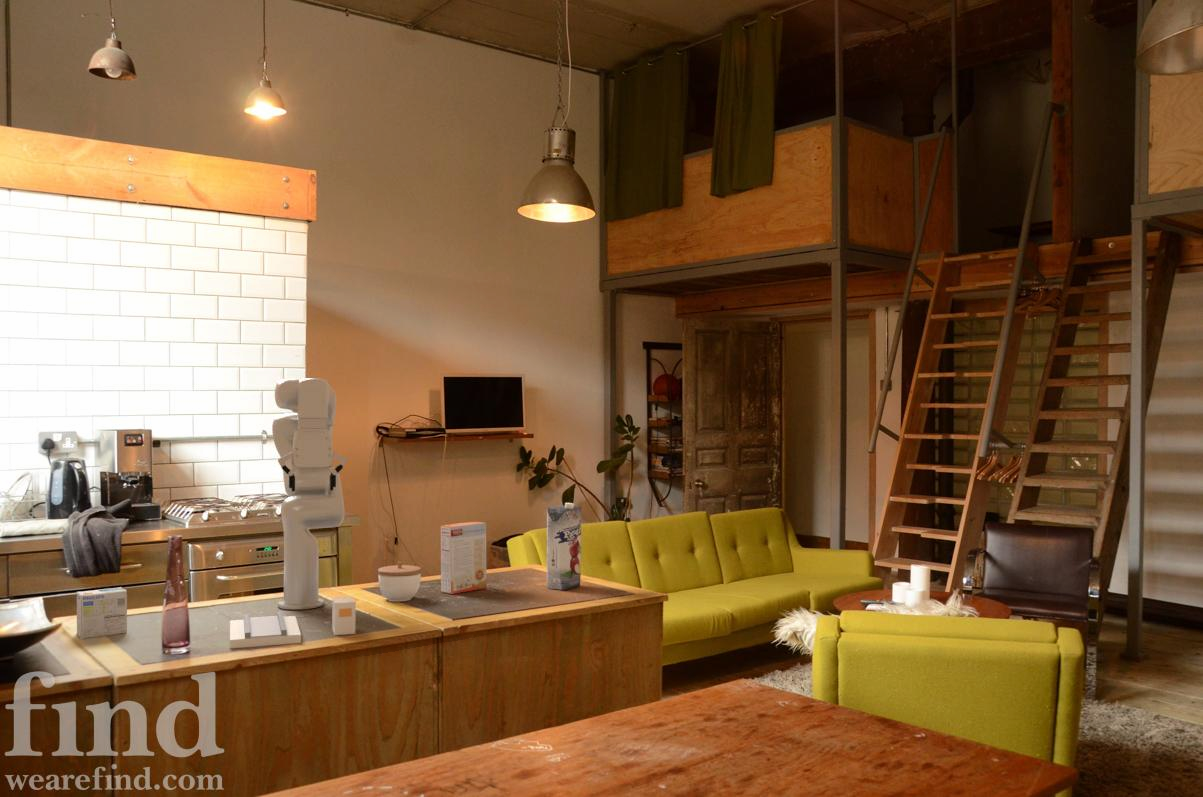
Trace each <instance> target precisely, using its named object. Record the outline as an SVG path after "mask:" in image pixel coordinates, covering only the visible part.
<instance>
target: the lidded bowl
mask: <svg viewBox="0 0 1203 797" xmlns="http://www.w3.org/2000/svg"><path fill="white" fill-rule="evenodd" d="M421 573H422V568H421V566H417V565H409V564H406V565H404V564H402V561H397V565H388V566H386V565H385V566H382V567H379V568H378V569H377V576H378V577H377V578H378V579H377V580H378V586H379V590H380V592H381V594H382V595H383V596H384V597H385V598H386V599H387V601H388V602H394V603H395V602H397V603H398V602H407V601H411V600H412V598H413V597H414V596H416V594H417V592H418V590H419V589H420V585H421V578H422V577H421V576H422V575H421Z"/></svg>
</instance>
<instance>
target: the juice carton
mask: <svg viewBox="0 0 1203 797" xmlns="http://www.w3.org/2000/svg"><path fill="white" fill-rule="evenodd" d="M581 551H582V507H581V506H577V505H575V504H574V503H572V502H565V503H564V505H559V506H554V507H553V506H552V507H551V506H549V507H548V506H547V507H546V586H547V589H551V590H559V591H568V590H571V589H575V588H578V587H580V586H581V576H582V575H581V574H582V573H581V572H582V570H581V569H582V565H581V563H582V561H581V560H582V558H581V557H582V556H581V555H582V552H581Z"/></svg>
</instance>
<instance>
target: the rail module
mask: <svg viewBox="0 0 1203 797" xmlns="http://www.w3.org/2000/svg"><path fill="white" fill-rule="evenodd" d="M331 600H332V601H331V602H332V604H331V608H332V609H331V619H332V620H331V630H332V632H333V635H334V636H340V635H342V636H343V635H351V634H352V635H353V634H355V635H356V605H357V603H356V601H355V599H354V597H353V596H345V597H343V596H341V597H332V599H331Z"/></svg>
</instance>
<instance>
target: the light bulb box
mask: <svg viewBox="0 0 1203 797" xmlns="http://www.w3.org/2000/svg"><path fill="white" fill-rule="evenodd" d="M126 633H128V590H127V589H125V588H124V587H122V586H120V587H113V588H111V587H110V588H103V589H94V590H84V591H76V635H77V637H79V639H81V638H82V639H88V638H95V637H96V638H97V637H103V636H104V637H105V636H109V635H110V636H111V635H118V634H126Z"/></svg>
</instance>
